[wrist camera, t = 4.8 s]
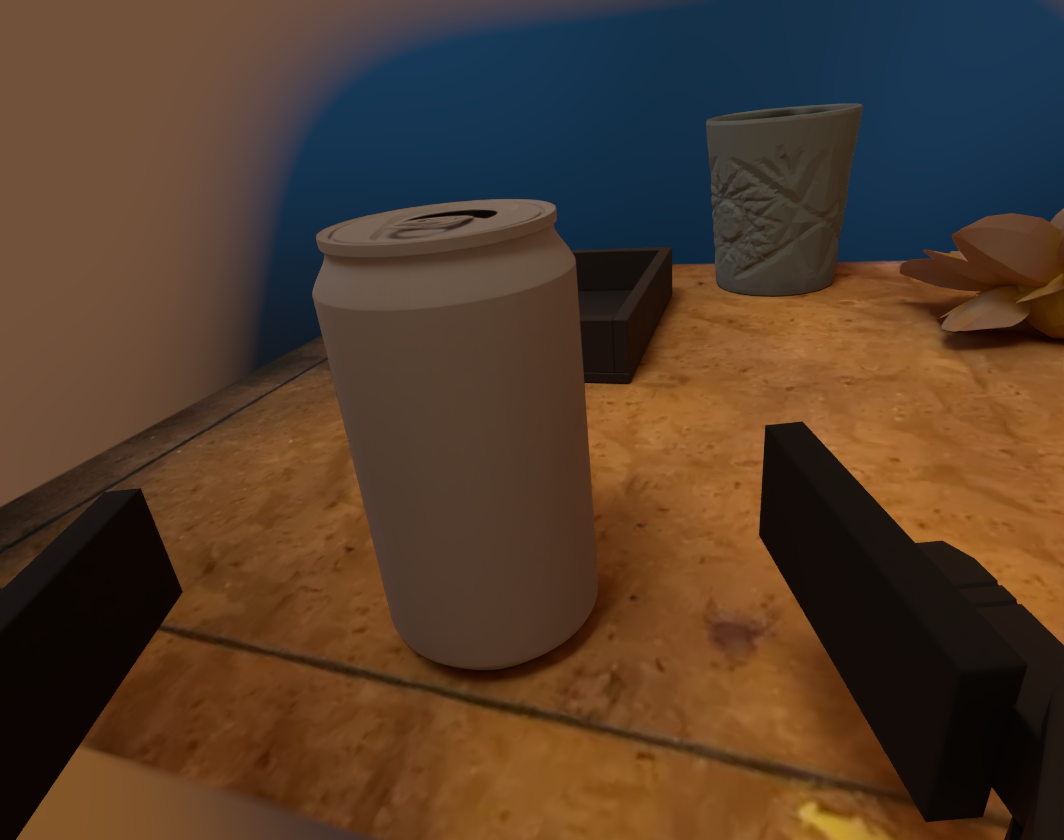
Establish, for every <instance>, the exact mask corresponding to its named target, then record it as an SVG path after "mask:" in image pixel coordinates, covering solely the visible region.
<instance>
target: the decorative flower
mask: <svg viewBox="0 0 1064 840" xmlns="http://www.w3.org/2000/svg"><path fill="white" fill-rule="evenodd" d="M952 238H953V240H954V242H955V244H956V246H957V247H958V249H959V251H953V252H952V251H951V252H950V254H947V253H940V252H936V251H930V250H923V251H924V252H925V253H926V254H928V255H929V256H931V257H932V258H933V259H914V260H909V261H907V262H904V263H902V264H901V268H900V273H901V274H903V275H906V276H909V277H912V278H915V279H917V280H920V281H923V282H925V283H928V284H932V285H935V286H939V287H944V288H950V289H956V290H965V291H981V292H979V293H976V294H979V295H978V296H976V297H974V298H972V299H970V300H968V301H966V302H964V303H963V304H961V305H959V306H957V307H956V308H954V309H953V310H951V311H950V312H948V313H947V314H945V315H944V316H942V317H940V318H939V319H937V322H938V323H939V324H941V325H942V329H944V330H948V331H954V332H955V331H969V330H978V329H988V328H1000V327H1011V326H1013V325H1015V324H1017V323H1019V322H1021V321H1022V320H1023V319H1025V320H1026V321H1027V322H1028V323H1029V324H1031V325H1032V326H1033V327H1035V328H1036V329H1037V330H1039V331H1041V332H1042V333H1044V334H1046V335H1048V336H1049V337H1051V338H1057V339H1064V209H1062V211H1060V212H1059V213H1058V214H1057V215H1056V216H1055V217H1054V218H1053V220H1052V221H1051V222H1050V223H1049V222H1047V221H1046V220H1044V219H1043V218H1037V217H1031V216H1025V215H1018V214H1013V213H1012V214H1004V215H995V216H987V217H985V218H983V219H981V220H979V221H977V222H975V223H973V224H971V225H969V226H967V227H965V228H963V229H961V230H959V231H958V232H956V233H954V234H953V235H952Z"/></svg>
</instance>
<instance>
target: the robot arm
mask: <svg viewBox="0 0 1064 840" xmlns="http://www.w3.org/2000/svg"><path fill="white" fill-rule="evenodd" d="M759 536H760V538H761V539H762V541H763V543H764V545H765V546H766V548H767V550H768V551H769V553H770V555H771V557H772V558H773V560H774V562H775V564H776V565H777V567H778V569H779V570H780V572H781V574H782V576H783V577H784V579H785V581H786V582H787V584H788V586H789V588H790V589H791V591H792V593H793V595H794V596H795V598H796V600H797V601H798V603H799V605H800V607H801V608H802V610H803V612H804V613H805V615H806V617H807V619H808V620H809V622H810V624H811V626H812V627H813V629H814V631H815V632H816V634H817V636H818V638H819V639H820V641H821V643H822V644H823V646H824V648H825V650H826V651H827V653H828V655H829V657H830V658H831V660H832V662H833V663H834V665H835V667H836V669H837V670H838V672H839V674H840V675H841V677H842V679H843V681H844V682H845V684H846V686H847V688H848V689H849V691H850V693H851V694H852V696H853V698H854V700H855V701H856V703H857V705H858V706H859V708H860V710H861V712H862V713H863V715H864V717H865V719H866V720H867V722H868V724H869V725H870V727H871V729H872V731H873V732H874V734H875V736H876V737H877V739H878V741H879V743H880V744H881V746H882V748H883V750H884V751H885V753H886V755H887V756H888V758H889V760H890V762H891V763H892V765H893V767H894V768H895V770H896V772H897V774H898V775H899V777H900V779H901V781H902V782H903V784H904V786H905V787H906V789H907V791H908V793H909V794H910V796H911V798H912V799H913V801H914V803H915V805H916V806H917V808H918V810H919V812H920V813H921V815H922V817H923V818H924V820H925V822H933V821H944V820H955V819H966V818H977V817H983V815H984V811H985V808H986V805H987V801H988V798H989V794H990V791H991V788H993V789H994V790H995V792H996V793H997V795H998V796H999V797H1000V799H1001V800H1002V802H1003V803H1004V805H1005V806H1006V807H1007V809H1008V810H1009V812H1010V813H1011V814H1012V818H1011V821H1010V824H1009V827H1008V830H1007V833H1006V836H1005V839H1004V840H1064V645H1063V644H1062V643H1061V642H1060V641H1059V640H1058V639H1057V638H1056V637H1055V636H1054V635H1053V634H1052V633H1050V632H1049V631H1048V630H1047V629H1046V628H1045V627H1044V626H1043V625H1042V624H1041V623H1040V622H1039V621H1038V620H1037V619H1036V618H1035V617H1034V616H1033V615H1032V614H1031V613H1030V612H1029V611H1028V610H1027V609H1026V608H1025V607H1024V606H1023V605H1022V604H1017V601H1016V598H1015V597H1014V596H1012V595H1011V594H1010V593H1009V592H1008V591H1007V590H1006V589H1005V588H1004V587H1003V586H1002V585H1000V586H999V585H998V583H997V580H996V579H995V578H994V577H993V576H992V575H991V574H990V573H989V572H988V571H987V570H986V569H985V568H984V567H983V566H982V565H981V564H980V563H979V562H978V561H977V560H975V559H974V558H973V557H971V556H969V555H967V554H965V553H964V552H962V551H960V550H958V549H956V548H955V547H953V546H951V545H949V544H947V543H946V542H944V541H934V542H924V543H915V542H914V541H913V540H912V539H911V538H910V537H909V536H908V535H907V534H906V533H905V532H904V531H903V530H902V528H901V527H900V526H899V525H898V524H897V523H896V522H895V521H894V520H893V519H892V518H891V517H890V516H889V514H888V513H887V512H886V511H885V510H884V509H883V508H882V507H881V506H880V505H879V504H878V503H877V502H876V500H875V499H874V498H873V497H872V496H871V495H870V494H869V493H868V492H867V491H866V490H865V489H864V487H863V486H862V485H861V484H860V483H859V482H858V481H857V480H856V479H855V478H854V477H853V476H852V475H851V473H850V472H849V471H848V470H847V469H846V468H845V467H844V466H843V465H842V464H841V463H840V462H839V461H838V459H837V458H836V457H835V456H834V455H833V454H832V453H831V452H830V451H829V450H828V449H827V448H826V447H825V445H824V444H823V443H822V442H821V441H820V440H819V439H818V438H817V437H816V436H815V435H814V434H813V433H812V431H811V430H810V429H809V428H808V427H807V426H806V425H805V424H804V423H803V422H794V423H784V424H775V425H765V442H764V459H763V477H762V494H761V511H760V529H759ZM182 592H183V591H182V589H181V586H180V584H179V581H178V579H177V577H176V574H175V572H174V569H173V567H172V564H171V562H170V559H169V557H168V554H167V552H166V549H165V547H164V545H163V542H162V540H161V537H160V535H159V532H158V530H157V527H156V525H155V522H154V520H153V518H152V515H151V513H150V510H149V508H148V505H147V503H146V500H145V498H144V495H143V493H142V490H141V488H140V489H130V490H120V491H110V492H104V493H103V494H102V495H101V496H100V497H99V498H98V499H97V500H96V501H95V502H94V503H93V504H92V505H91V506H90V507H88V508H87V509H86V510H85V511H84V512H83V513H82V514H81V515H80V516H79V517H78V518H77V519H76V520H75V521H74V522H73V523H72V524H71V525H70V526H68V527H67V528H66V529H65V530H64V531H63V532H62V533H61V534H60V535H59V536H58V537H57V538H56V539H55V540H54V541H53V542H52V543H51V544H50V545H48V546H47V547H46V548H45V549H44V550H43V551H42V552H41V553H40V554H39V555H38V556H37V557H36V558H35V559H34V560H33V561H32V562H31V563H30V564H28V565H27V566H26V567H25V568H24V569H23V570H22V571H21V572H20V573H19V574H18V575H17V576H16V577H15V578H14V579H13V580H12V581H11V582H10V583H9V584H7V585H6V586H5V587H4V588H3V589H2V590H1V591H0V840H16V838H17V837H18V836H19V834H20V833H21V831H22V830H23V828H24V827H25V825H26V824H27V822H28V821H29V819H30V818H31V816H32V815H33V813H34V812H35V810H36V809H37V807H38V806H39V804H40V803H41V801H42V800H43V798H44V797H45V796H46V794H47V793H48V791H49V790H50V788H51V787H52V785H53V784H54V782H55V780H56V779H57V778H58V776H59V775H60V773H61V772H62V770H63V769H64V767H65V766H66V764H67V763H68V761H69V760H70V758H71V757H72V755H73V754H74V752H75V751H76V750H77V748H78V747H79V745H80V744H81V742H82V741H83V739H84V738H85V736H86V735H87V733H88V732H89V730H90V729H91V727H92V726H93V724H94V723H95V721H96V720H97V718H98V717H99V715H100V714H101V713H102V711H103V710H104V708H105V707H106V705H107V704H108V702H109V701H110V699H111V698H112V696H113V695H114V693H115V692H116V690H117V689H118V687H119V686H120V684H121V683H122V681H123V680H124V678H125V677H126V675H127V674H128V672H129V671H130V670H131V668H132V667H133V665H134V664H135V662H136V661H137V659H138V658H139V656H140V655H141V653H142V652H143V650H144V649H145V647H146V646H147V644H148V643H149V641H150V640H151V638H152V637H153V635H154V634H155V632H156V631H157V630H158V628H159V627H160V625H161V624H162V622H163V621H164V619H165V618H166V616H167V615H168V613H169V612H170V610H171V609H172V607H173V606H174V604H175V603H176V601H177V600H178V598H179V597H180V595H181V594H182Z"/></svg>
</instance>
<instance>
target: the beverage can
mask: <svg viewBox="0 0 1064 840" xmlns="http://www.w3.org/2000/svg"><path fill="white" fill-rule="evenodd" d="M556 220H557V217H556V206H555V205H553V204H552V203H549V202H545V201H539V200H524V199H494V200H476V201H463V202H453V203H443V204H435V205H427V206H420V207H413V208H406V209H400V210H394V211H389V212H384V213H379V214H374V215H369V216H365V217H360V218H357V219H353V220H349V221H346V222H342V223H339V224H336V225H333V226H331V227H328V228H326V229H324V230H322V231H321V232H319V233H318V234H317V236H316V239H317V243H318V248H319V250H320V251H321V252H323V253H324V255H325V257H324V262H323V265H322V268H321V270H320V272H319V275H318V277H317V279H316V282H315V285H314V289H313V293H312V295H313V299H314V303H315V307H316V311H317V315H318V320H319V324H320V328H321V332H322V336H323V340H324V344H325V348H326V352H327V356H328V360H329V365H330V369H331V373H332V377H333V381H334V385H335V389H336V393H337V397H338V401H339V405H340V409H341V413H342V417H343V422H344V426H345V430H346V434H347V438H348V442H349V446H350V450H351V454H352V458H353V462H354V466H355V470H356V474H357V479H358V483H359V487H360V491H361V495H362V499H363V503H364V507H365V511H366V515H367V519H368V523H369V527H370V531H371V536H372V540H373V544H374V548H375V552H376V556H377V560H378V564H379V568H380V572H381V576H382V580H383V584H384V589H385V593H386V597H387V601H388V605H389V609H390V613H391V617H392V620H393V623H394V626H395V628H396V630H397V632H398V633H399V635H400V637H401V638H402V639H403V640H404V641H405V643H406V644H407V645H408V646H409V647H410V648H412V649H413V650H414V651H416V652H417V653H419V654H420V655H422V656H424V657H425V658H428V659H430V660H432V661H435V662H437V663H440V664H444V665H448V666H452V667H457V668H465V669H471V670H497V669H503V668H508V667H512V666H516V665H519V664H522V663H524V662H527V661H529V660H531V659H534V658H537V657H539V656H541V655H543V654H546V653H547V652H549V651H551V650H553V649H555V648H556V647H558V646H559V645H561V644H562V643H564V642H565V641H566V640H568V639H569V638H570V637H571V636H572V635H573V634H575V633H576V632H577V631H578V630H579V628H580V627H581V626H582V625H583V624H584V622H585V621H586V620H587V618H588V617H589V615H590V613H591V611H592V609H593V607H594V604H595V602H596V598H597V593H598V573H597V558H596V544H595V530H594V515H593V501H592V487H591V472H590V458H589V444H588V430H587V415H586V401H585V387H584V372H583V358H582V344H581V329H580V315H579V301H578V287H577V272H576V259H575V256H574V255H573V253H572V252H571V251H570V249H569V248H568V246H567V245H566V244H565V242H564V241H563V240H562V239H561V238H560V237H559V235H558V234H557V232H556V231H555V229H554V226H553V224H554V222H555V221H556Z"/></svg>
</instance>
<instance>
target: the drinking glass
mask: <svg viewBox="0 0 1064 840" xmlns="http://www.w3.org/2000/svg"><path fill="white" fill-rule="evenodd" d="M862 107H863V106H862V105H861V104H829V105H814V106H801V107H788V108H777V109H767V110H758V111H751V112H743V113H736V114H729V115H724V116H719V117H715V118H711V119H708V120H707V123H706V129H707V141H708V152H709V164H710V170H711V173H712V175H711V179H712V183H711V192H712V193H713V195H712V199H711V200H712V206H713V213H712V218H713V219H714V222H713V223H714V227H713V231H714V234H715V236H714V244H715V267H716V280H717V283H718V285H719V286H720V287H721V288H723V289H725V290H727V291H731V292H735V293H740V294H748V295H760V296H782V295H795V294H802V293H808V292H813V291H817V290H821V289H823V288H825V287H827V286H829V285H830V284H832V281H833V278H834V274H835V268H836V262H837V256H838V242H837V241H838V239H839V237H840V235H841V230H840V229H841V226H842V224H843V220H844V213H843V211H844V210H845V205H846V200H847V195H848V187H847V186H848V183H849V179H850V177H849V173H850V170H851V165H852V161H853V153H854V149H855V144H856V140H857V134H858V129H859V124H860V119H861V113H862Z"/></svg>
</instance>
